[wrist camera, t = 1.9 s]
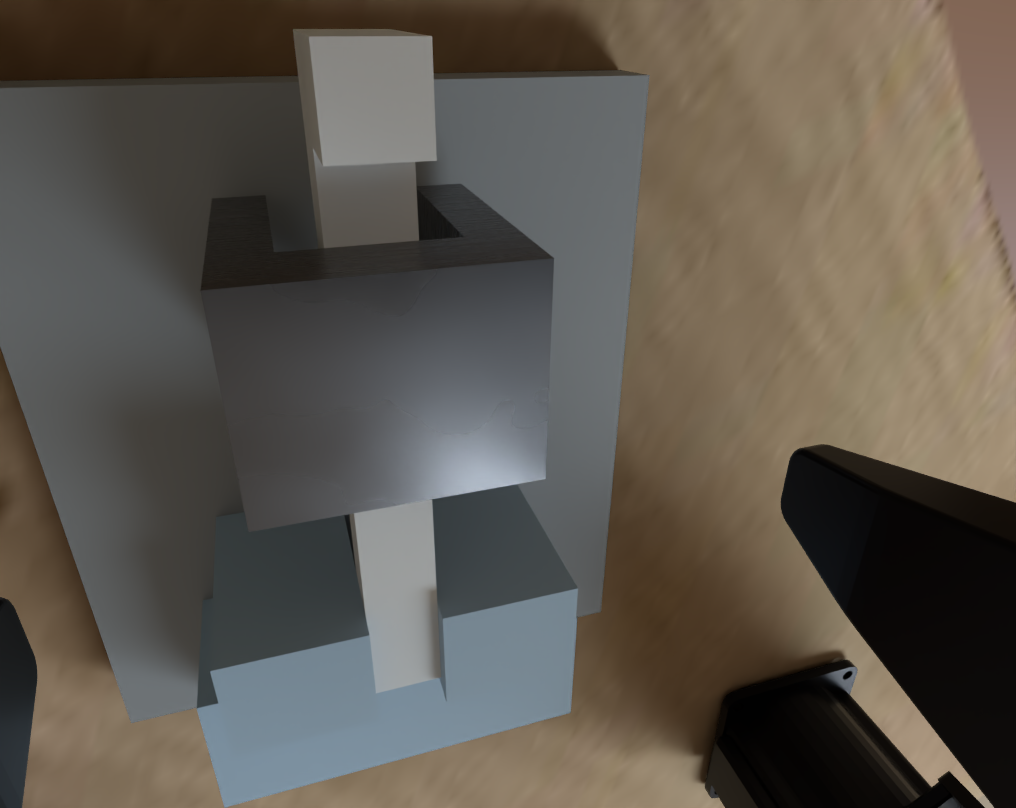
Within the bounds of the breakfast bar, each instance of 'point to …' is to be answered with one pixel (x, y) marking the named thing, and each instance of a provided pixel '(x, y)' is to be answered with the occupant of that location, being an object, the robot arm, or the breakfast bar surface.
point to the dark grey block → (379, 359)
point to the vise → (201, 418)
